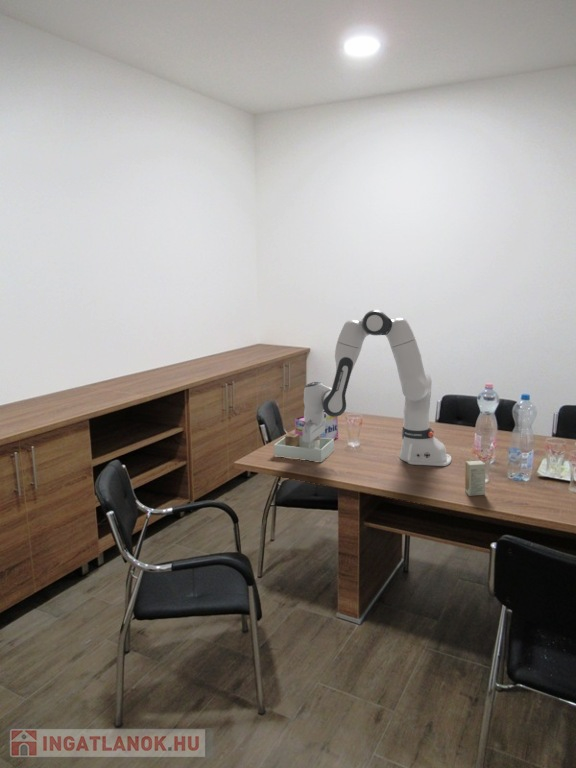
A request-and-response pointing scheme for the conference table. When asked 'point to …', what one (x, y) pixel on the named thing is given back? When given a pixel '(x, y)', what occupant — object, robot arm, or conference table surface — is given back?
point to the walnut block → (292, 440)
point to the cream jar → (316, 443)
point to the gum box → (330, 429)
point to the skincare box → (475, 478)
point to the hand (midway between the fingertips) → (314, 446)
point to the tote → (305, 450)
